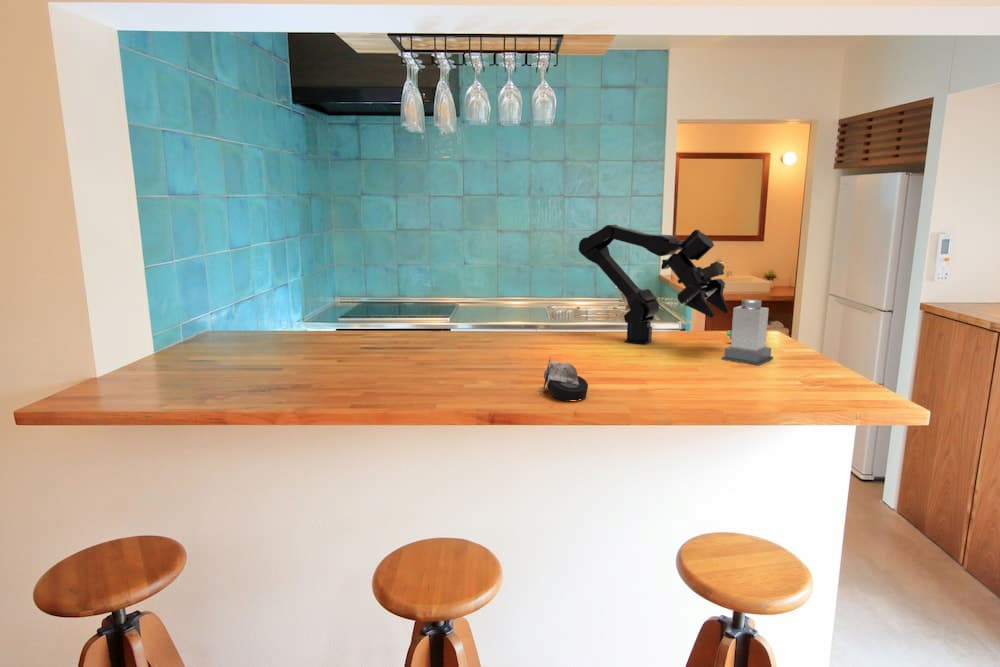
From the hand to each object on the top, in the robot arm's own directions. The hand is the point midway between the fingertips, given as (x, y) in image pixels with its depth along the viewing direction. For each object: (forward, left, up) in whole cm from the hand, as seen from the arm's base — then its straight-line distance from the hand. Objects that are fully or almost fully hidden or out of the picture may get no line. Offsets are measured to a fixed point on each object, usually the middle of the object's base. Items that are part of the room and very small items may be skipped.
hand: (720, 314), depth 177 cm
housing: (+8, -1, -8) cm, 12 cm away
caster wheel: (-18, -57, -12) cm, 61 cm away
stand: (+8, -1, -11) cm, 14 cm away
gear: (+3, +18, -12) cm, 21 cm away
